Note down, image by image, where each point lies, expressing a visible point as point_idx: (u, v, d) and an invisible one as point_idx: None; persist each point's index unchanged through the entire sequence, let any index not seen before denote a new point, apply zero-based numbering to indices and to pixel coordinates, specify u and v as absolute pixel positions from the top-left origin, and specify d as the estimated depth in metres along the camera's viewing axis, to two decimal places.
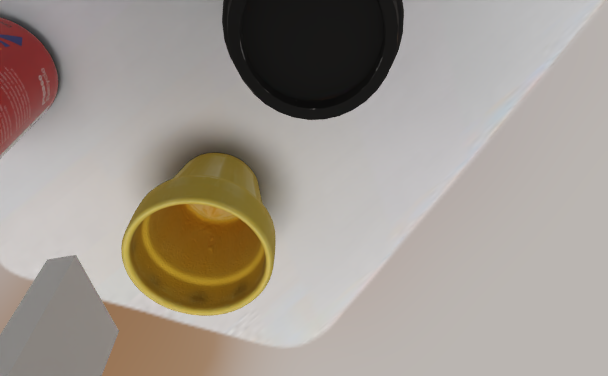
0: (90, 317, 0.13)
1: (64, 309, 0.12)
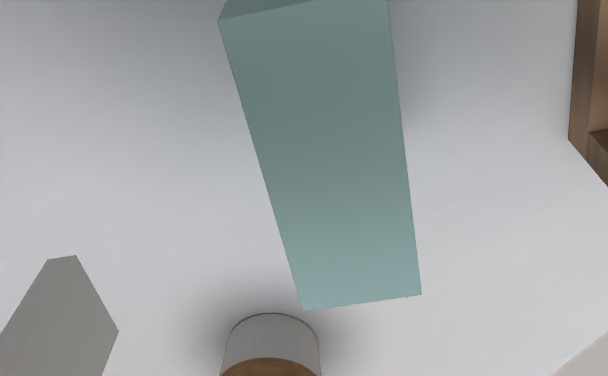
0: (90, 317, 0.13)
1: (64, 309, 0.12)
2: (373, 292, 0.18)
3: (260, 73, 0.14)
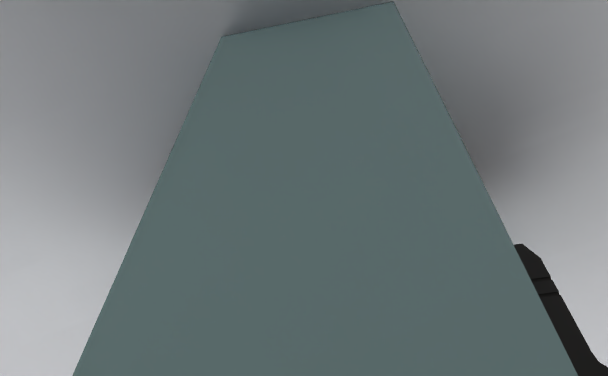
0: None
1: None
2: None
3: None
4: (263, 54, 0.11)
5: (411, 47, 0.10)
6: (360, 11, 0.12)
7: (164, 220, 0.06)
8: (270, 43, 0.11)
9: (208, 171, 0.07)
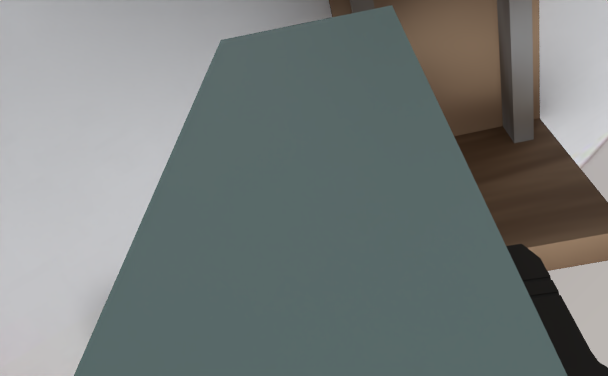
0: None
1: None
2: None
3: None
4: (262, 58, 0.11)
5: (409, 51, 0.10)
6: (359, 15, 0.12)
7: (163, 225, 0.07)
8: (269, 46, 0.11)
9: (207, 176, 0.07)
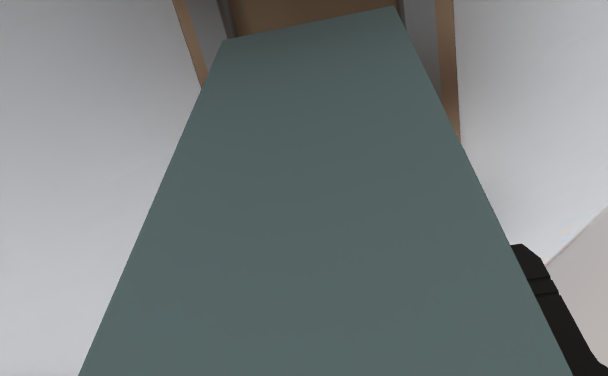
0: None
1: None
2: None
3: None
4: (264, 58, 0.11)
5: (411, 52, 0.10)
6: (361, 15, 0.12)
7: (166, 226, 0.07)
8: (271, 47, 0.11)
9: (209, 176, 0.07)
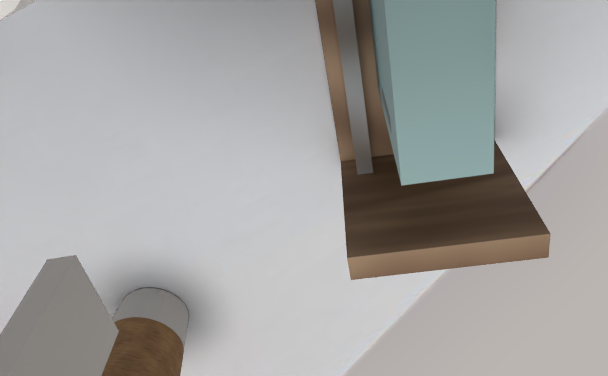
0: (90, 317, 0.13)
1: (64, 309, 0.12)
2: (457, 170, 0.23)
3: None
4: None
5: None
6: None
7: None
8: None
9: None
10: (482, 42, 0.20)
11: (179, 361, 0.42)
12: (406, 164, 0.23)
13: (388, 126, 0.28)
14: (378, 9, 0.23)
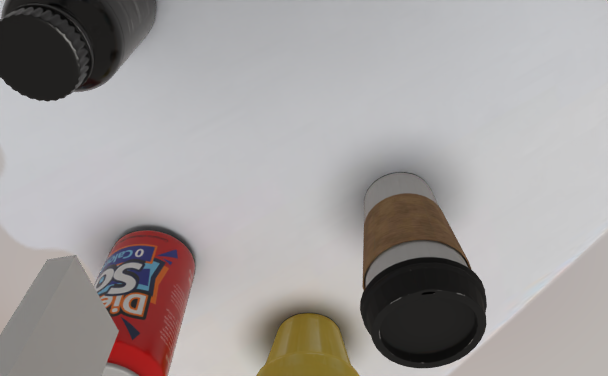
0: (90, 317, 0.13)
1: (64, 309, 0.12)
2: None
3: None
4: None
5: None
6: None
7: None
8: None
9: None
10: None
11: None
12: None
13: None
14: None
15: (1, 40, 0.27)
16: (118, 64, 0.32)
